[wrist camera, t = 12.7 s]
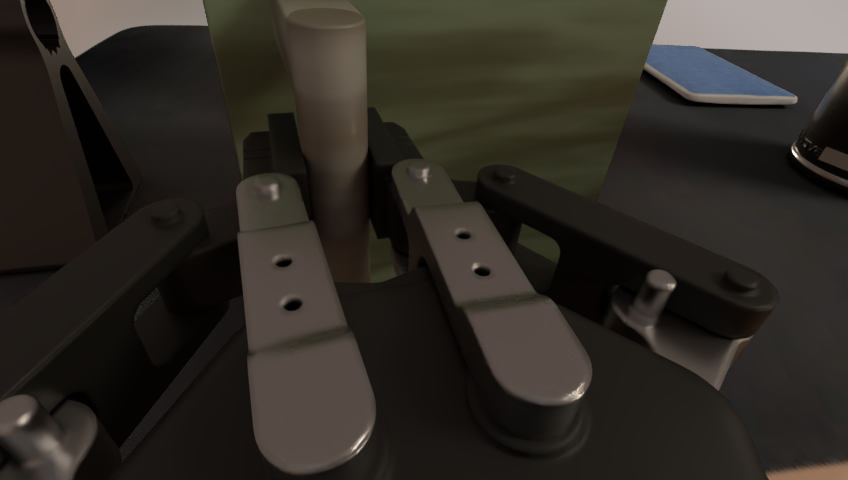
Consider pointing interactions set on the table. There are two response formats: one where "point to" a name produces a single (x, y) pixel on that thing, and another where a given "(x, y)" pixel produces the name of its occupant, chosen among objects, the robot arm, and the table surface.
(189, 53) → the table surface
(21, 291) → the table surface
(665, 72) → the tablet
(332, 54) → the door
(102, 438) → the robot arm
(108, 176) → the phone stand
